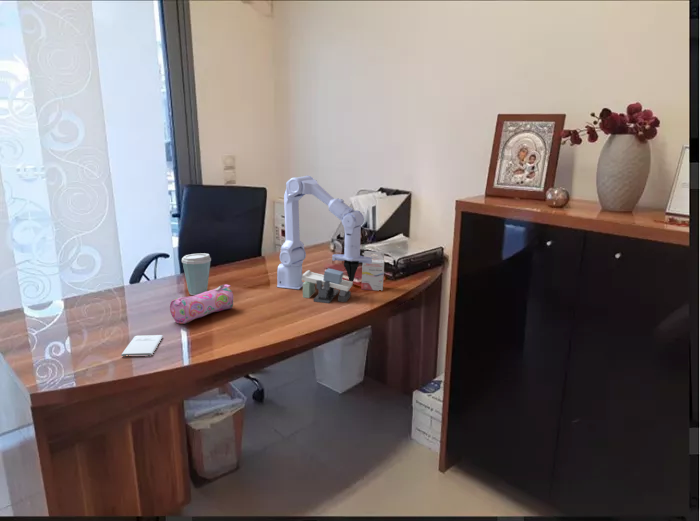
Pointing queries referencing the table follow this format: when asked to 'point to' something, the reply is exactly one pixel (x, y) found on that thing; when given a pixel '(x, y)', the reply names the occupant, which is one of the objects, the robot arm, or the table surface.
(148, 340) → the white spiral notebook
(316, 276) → the plank
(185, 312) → the pencil case
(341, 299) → the tip stop
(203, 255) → the disposable coffee cup
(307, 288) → the level rest
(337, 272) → the block
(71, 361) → the table surface
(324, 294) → the stand
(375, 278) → the ink cartridge box
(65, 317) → the table surface
